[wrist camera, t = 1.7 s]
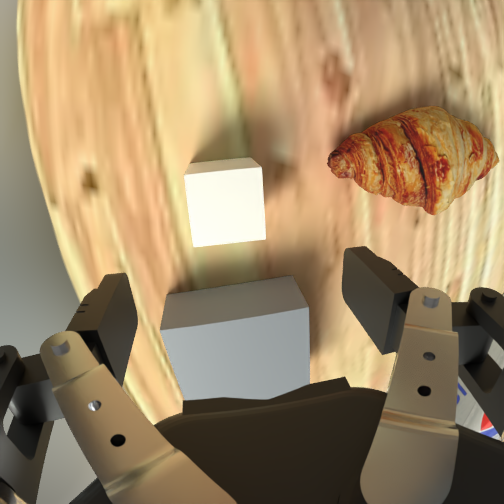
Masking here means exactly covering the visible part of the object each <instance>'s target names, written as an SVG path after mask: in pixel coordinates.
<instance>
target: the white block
mask: <svg viewBox="0 0 504 504" xmlns="http://www.w3.org/2000/svg"><path fill="white" fill-rule="evenodd" d="M184 179H185V187H186V196H187V204H188V211H189V219H190V226H191V234H192V241H193V247H202V246H210V245H219V244H228V243H237V242H246V241H256V240H265V239H266V230H265V212H264V195H263V179H262V167H261V166H260V165H259V164H258V163H256V162H255V161H254V160H253V159H252V158H251V157H248V158H236V159H226V160H216V161H206V162H198V163H190V164H189V166H188V168H187V170H186V172H185V174H184Z"/></svg>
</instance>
